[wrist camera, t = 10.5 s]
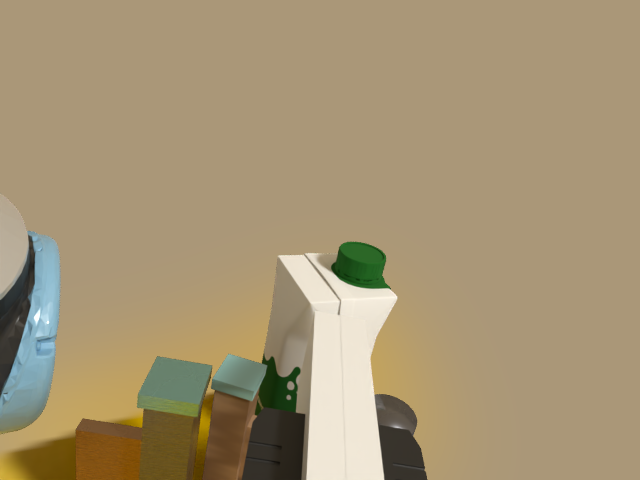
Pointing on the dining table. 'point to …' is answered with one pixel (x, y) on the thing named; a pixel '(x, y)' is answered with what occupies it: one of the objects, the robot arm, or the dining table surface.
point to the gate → (232, 417)
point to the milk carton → (318, 295)
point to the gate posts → (173, 428)
